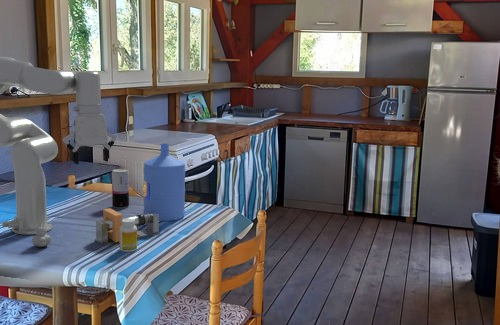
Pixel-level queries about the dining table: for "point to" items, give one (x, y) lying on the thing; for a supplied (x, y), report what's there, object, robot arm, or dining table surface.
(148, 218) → the pipe rig
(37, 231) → the grey figurine
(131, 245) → the supplement bottle
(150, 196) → the water jug
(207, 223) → the dining table surface
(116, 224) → the collar
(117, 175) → the beverage can
